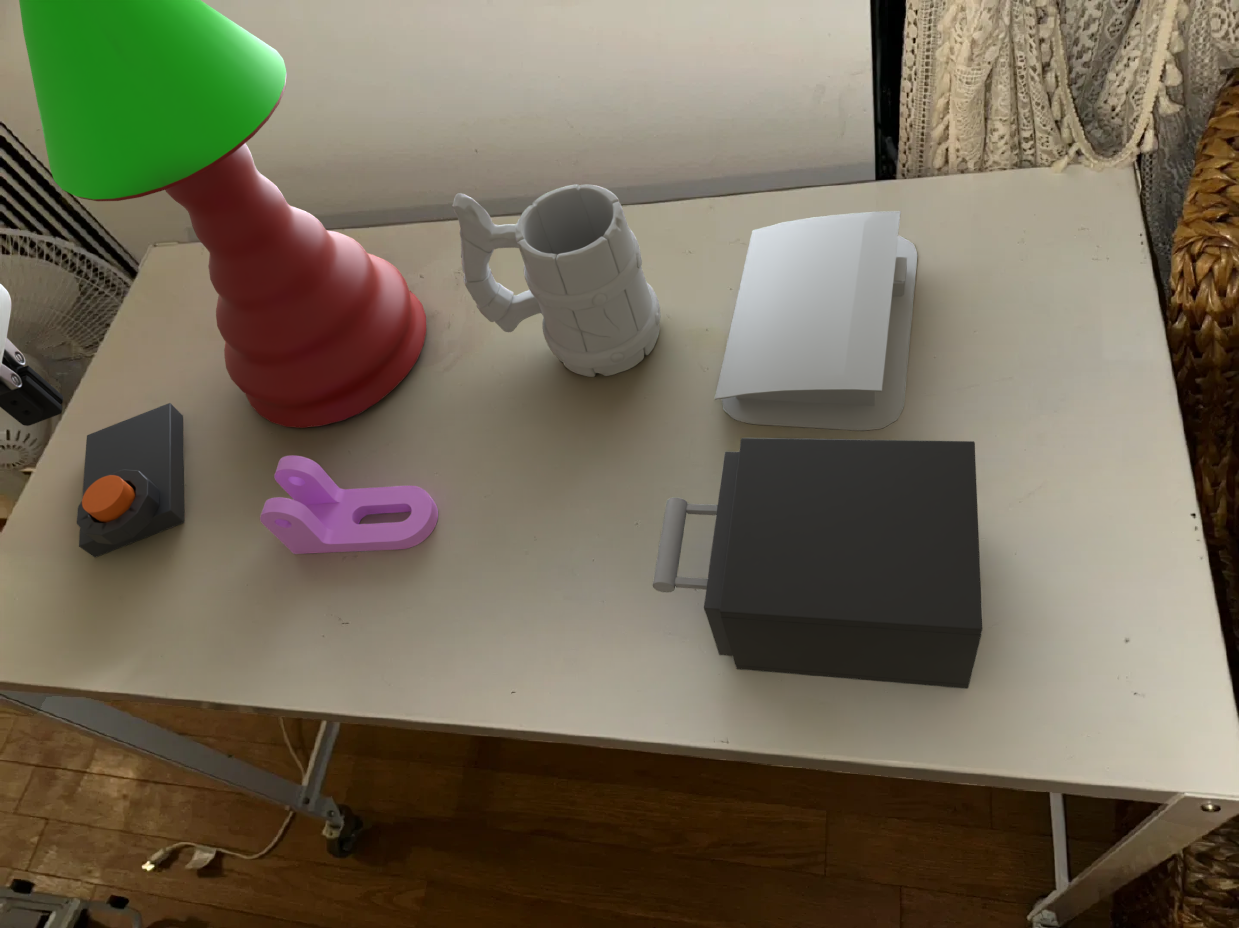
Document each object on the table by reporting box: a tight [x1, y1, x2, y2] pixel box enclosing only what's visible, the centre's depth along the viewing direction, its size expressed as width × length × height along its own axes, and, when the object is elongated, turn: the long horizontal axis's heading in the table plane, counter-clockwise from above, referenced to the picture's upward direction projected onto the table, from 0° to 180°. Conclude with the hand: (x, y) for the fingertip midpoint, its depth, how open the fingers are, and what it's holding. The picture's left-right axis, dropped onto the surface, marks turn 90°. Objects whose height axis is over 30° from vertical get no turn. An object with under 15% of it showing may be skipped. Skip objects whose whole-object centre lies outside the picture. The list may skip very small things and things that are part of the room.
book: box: [714, 210, 918, 432], centre depth 81 cm, size 15×23×4 cm, turn 167°
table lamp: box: [18, 0, 427, 429], centre depth 76 cm, size 20×20×45 cm
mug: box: [452, 183, 662, 378], centre depth 81 cm, size 11×17×17 cm, turn 82°
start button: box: [81, 475, 135, 522], centre depth 83 cm, size 4×4×2 cm
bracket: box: [259, 454, 439, 555], centre depth 78 cm, size 13×6×7 cm, turn 86°
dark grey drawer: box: [651, 451, 739, 657], centre depth 64 cm, size 19×12×8 cm, turn 80°
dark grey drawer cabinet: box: [720, 437, 984, 690], centre depth 63 cm, size 16×14×10 cm
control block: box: [76, 402, 185, 558], centre depth 87 cm, size 15×9×4 cm, turn 18°
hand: (45, 412), depth 71 cm, fingers closed
